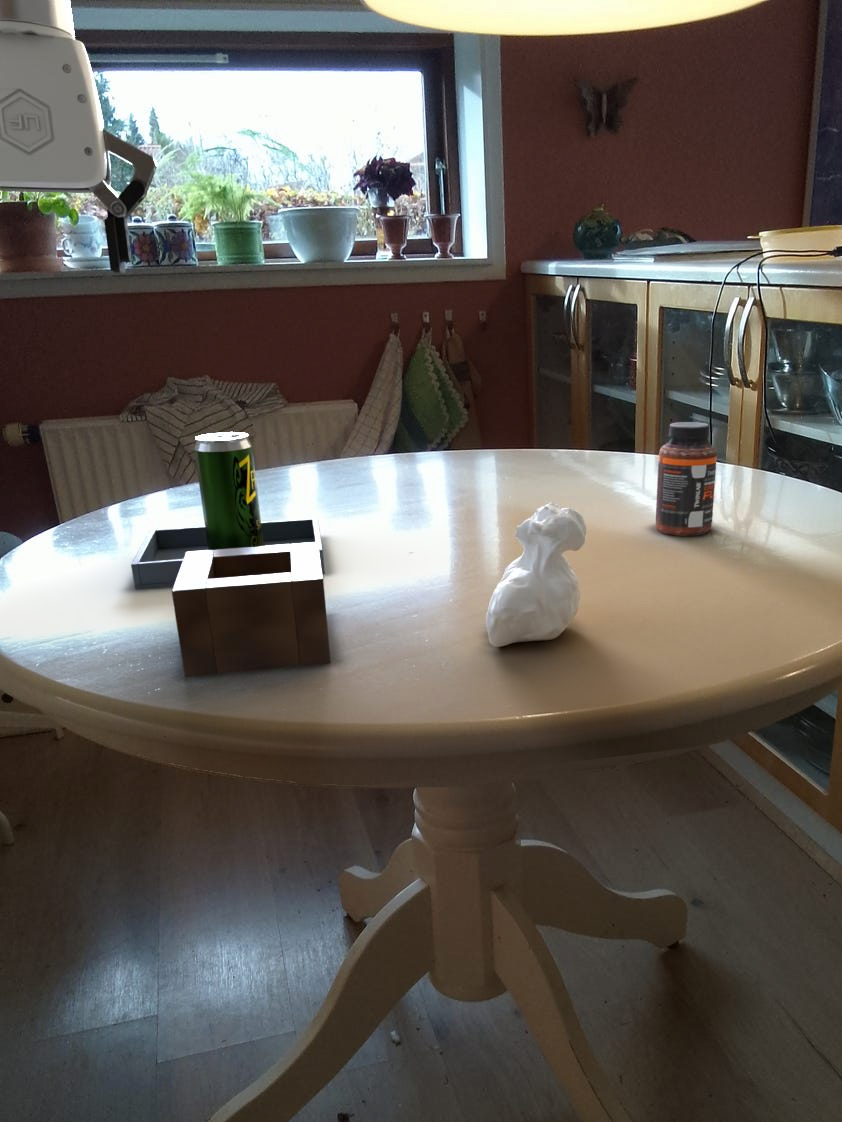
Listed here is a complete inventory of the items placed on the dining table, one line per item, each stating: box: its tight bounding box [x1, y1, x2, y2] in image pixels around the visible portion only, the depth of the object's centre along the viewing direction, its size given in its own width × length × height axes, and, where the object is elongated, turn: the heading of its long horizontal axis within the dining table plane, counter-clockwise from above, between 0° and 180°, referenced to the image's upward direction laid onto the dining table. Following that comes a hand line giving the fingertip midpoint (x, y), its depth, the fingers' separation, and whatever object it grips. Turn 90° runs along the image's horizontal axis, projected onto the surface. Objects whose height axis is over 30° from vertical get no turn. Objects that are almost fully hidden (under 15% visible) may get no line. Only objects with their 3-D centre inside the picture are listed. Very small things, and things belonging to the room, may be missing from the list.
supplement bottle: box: [655, 421, 718, 537], centre depth 97 cm, size 6×6×11 cm
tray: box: [130, 517, 326, 590], centre depth 91 cm, size 17×13×2 cm
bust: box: [485, 501, 587, 648], centre depth 69 cm, size 12×8×11 cm
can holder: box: [171, 542, 332, 678], centre depth 69 cm, size 10×10×6 cm
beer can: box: [194, 431, 264, 550], centre depth 90 cm, size 5×5×12 cm
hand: (54, 272), depth 73 cm, fingers open, 9 cm apart
